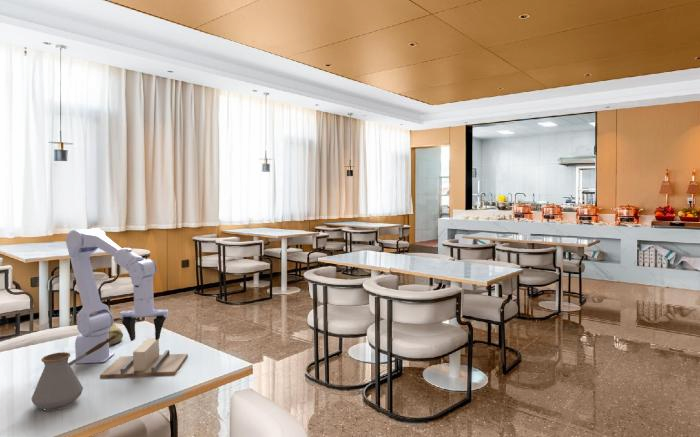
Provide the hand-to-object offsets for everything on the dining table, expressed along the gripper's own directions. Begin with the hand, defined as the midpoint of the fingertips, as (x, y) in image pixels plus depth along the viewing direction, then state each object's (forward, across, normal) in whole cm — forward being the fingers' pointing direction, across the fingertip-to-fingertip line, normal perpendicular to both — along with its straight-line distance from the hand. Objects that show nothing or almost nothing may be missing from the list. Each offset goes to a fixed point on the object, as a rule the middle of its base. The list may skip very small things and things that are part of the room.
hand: (145, 339), depth 143 cm
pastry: (+9, +24, -26) cm, 37 cm away
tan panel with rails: (+9, 0, 0) cm, 9 cm away
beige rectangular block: (+8, 0, 0) cm, 8 cm away
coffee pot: (+9, +11, +20) cm, 25 cm away
